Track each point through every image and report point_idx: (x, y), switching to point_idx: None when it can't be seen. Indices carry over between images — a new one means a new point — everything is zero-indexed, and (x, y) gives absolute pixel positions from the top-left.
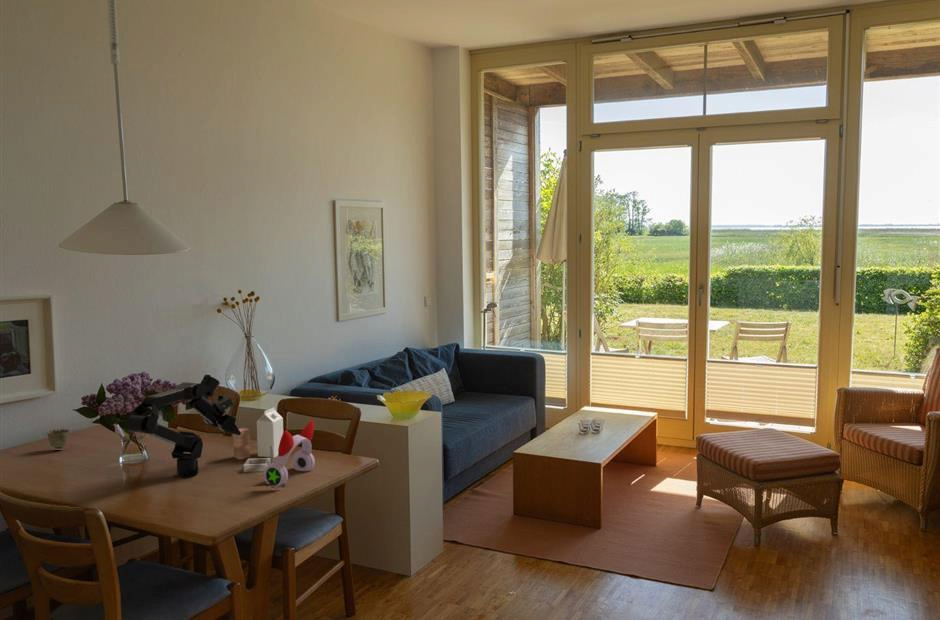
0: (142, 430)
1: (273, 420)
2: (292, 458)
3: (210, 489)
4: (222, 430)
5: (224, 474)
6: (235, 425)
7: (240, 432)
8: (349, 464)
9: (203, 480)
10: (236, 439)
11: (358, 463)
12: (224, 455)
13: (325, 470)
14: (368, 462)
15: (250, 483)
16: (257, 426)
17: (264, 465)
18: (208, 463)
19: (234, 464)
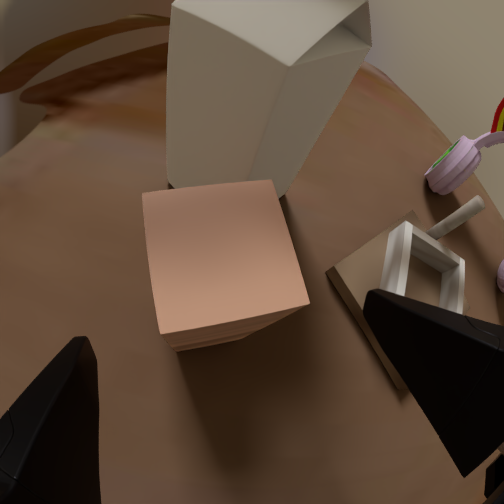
0: None
1: (352, 30)
2: (461, 180)
3: None
4: (491, 465)
5: (381, 422)
6: (501, 331)
7: (388, 293)
8: (381, 88)
9: (406, 486)
10: (234, 330)
11: (377, 77)
12: (46, 360)
13: (416, 138)
14: (373, 67)
15: None
16: (280, 105)
17: (461, 269)
18: (158, 475)
19: (247, 366)
